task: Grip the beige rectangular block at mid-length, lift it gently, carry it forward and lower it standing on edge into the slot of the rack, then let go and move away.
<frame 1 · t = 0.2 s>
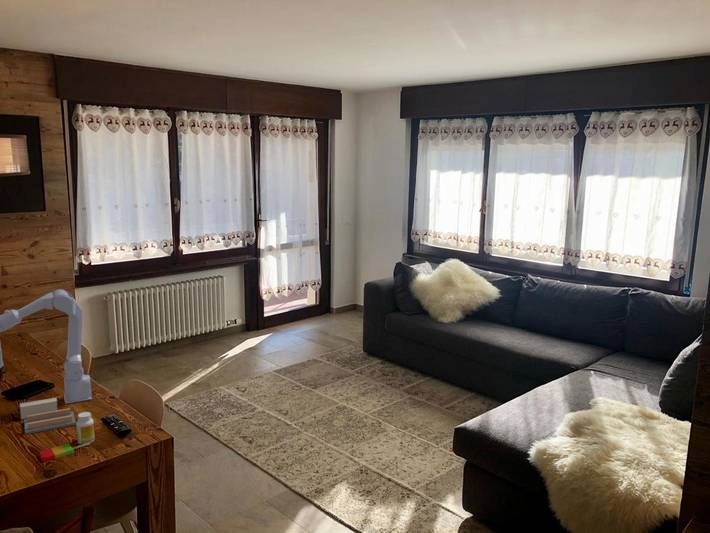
popsicle: (66, 453, 193), on the table
beige rectangular block: (39, 414, 218), on the table
rack: (50, 423, 211), on the table
supplement bottle: (86, 441, 200), on the table
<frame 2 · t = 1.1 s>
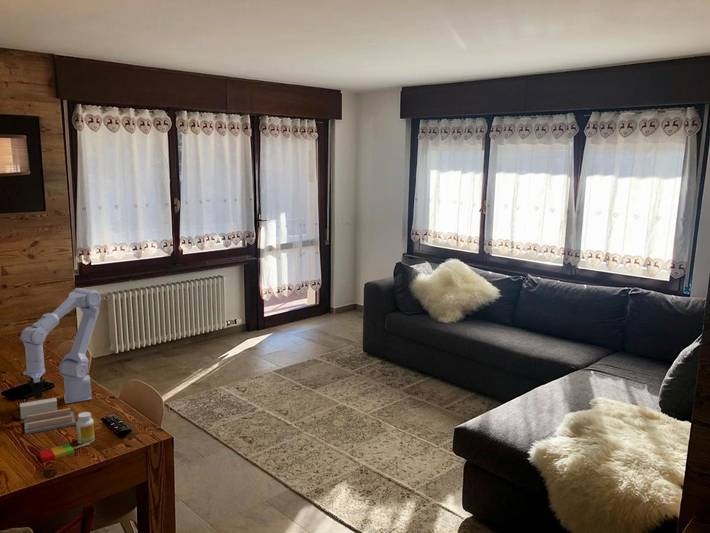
hand: (37, 394, 216), 8 cm above the table, tool pointing down, fingers open, 7 cm apart
nothing on the table moved.
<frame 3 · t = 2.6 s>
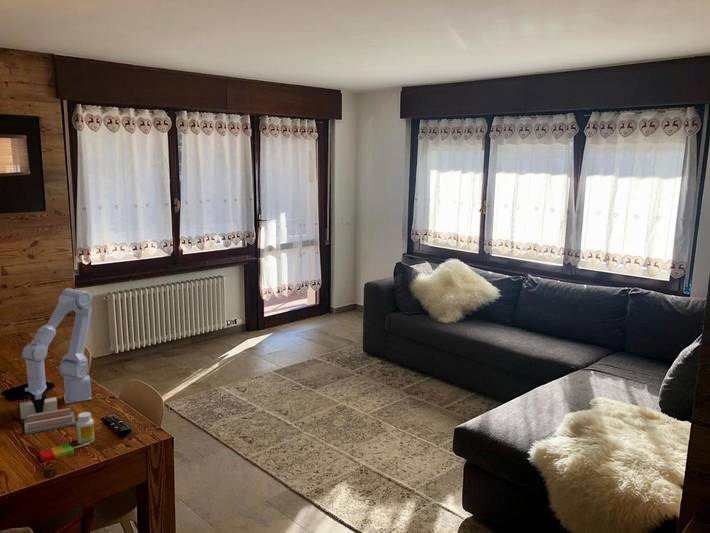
hand: (39, 410, 217), 2 cm above the table, tool pointing down, fingers closed on beige rectangular block, 3 cm apart
beige rectangular block: (39, 414, 218), on the table, touching gripper
everything else where it was.
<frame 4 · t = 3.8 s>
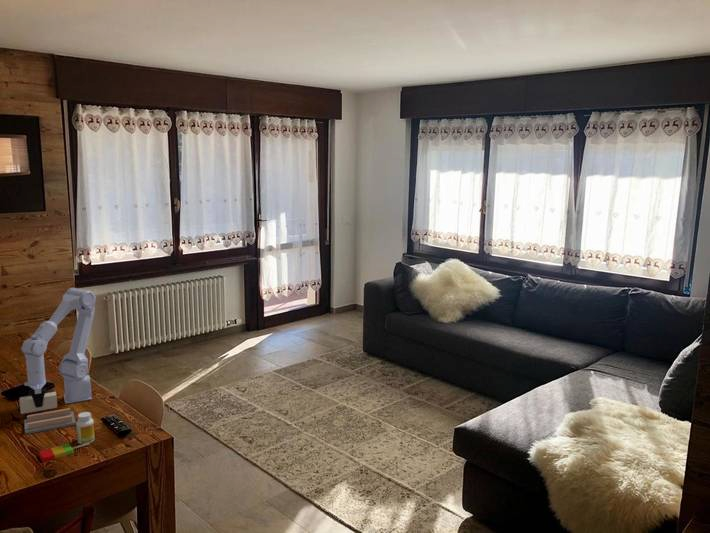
hand: (38, 404, 217), 4 cm above the table, tool pointing down, fingers closed on beige rectangular block, 3 cm apart
beige rectangular block: (39, 408, 217), point 2 cm above the table, touching gripper
everything else where it was.
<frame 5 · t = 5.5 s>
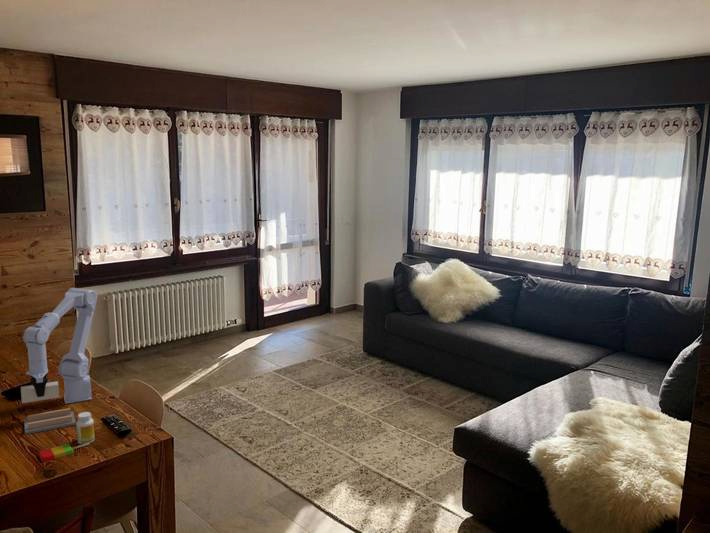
hand: (40, 394, 214), 9 cm above the table, tool pointing down, fingers closed on beige rectangular block, 3 cm apart
beige rectangular block: (40, 398, 214), point 7 cm above the table, touching gripper
everything else where it was.
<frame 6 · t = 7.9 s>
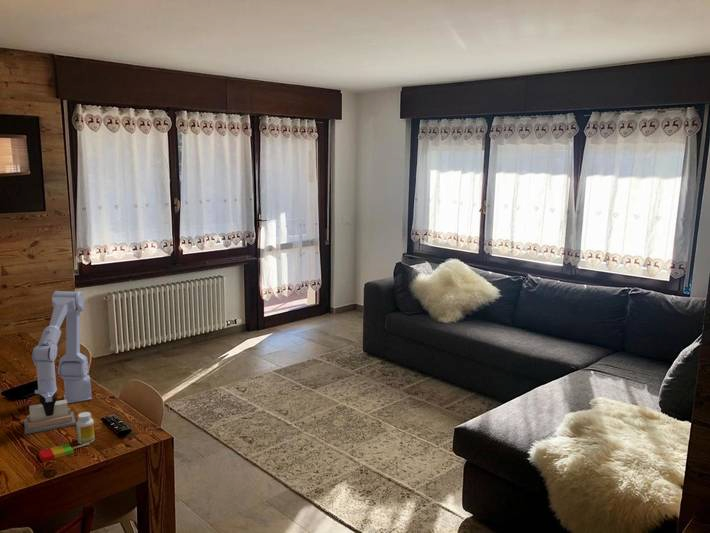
hand: (49, 413, 210), 4 cm above the table, tool pointing down, fingers closed on beige rectangular block, 3 cm apart
beige rectangular block: (49, 417, 210), point 2 cm above the table, touching gripper
everything else where it was.
when the fingers open (4 cm above the table, at t = 8.5 s): beige rectangular block drops 1 cm, resting on rack.
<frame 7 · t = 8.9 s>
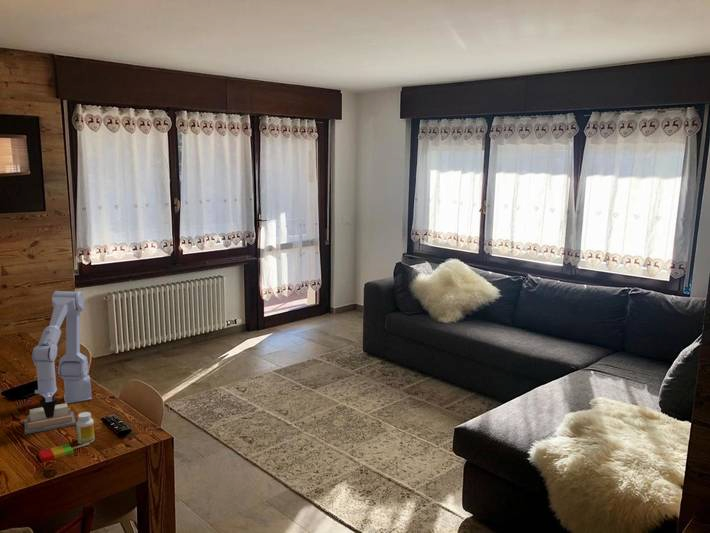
hand: (49, 413, 210), 4 cm above the table, tool pointing down, fingers open, 7 cm apart
beige rectangular block: (49, 421, 211), point 1 cm above the table, touching rack
everything else where it was.
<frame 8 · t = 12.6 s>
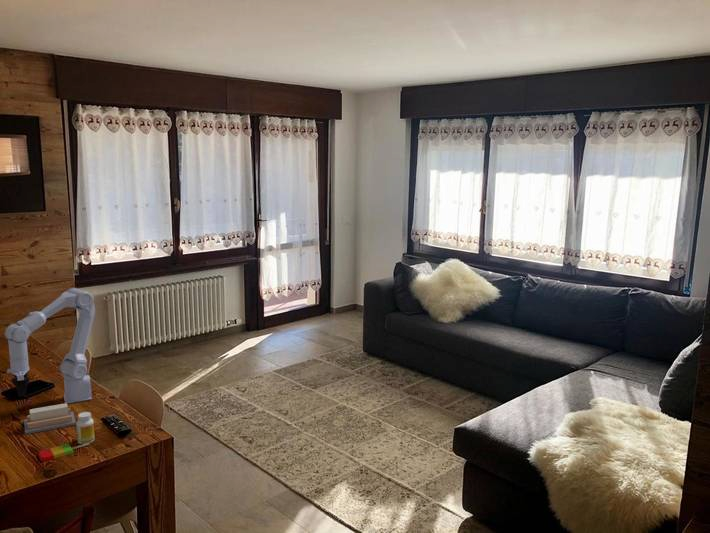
hand: (22, 392, 214), 9 cm above the table, tool pointing down, fingers open, 7 cm apart
nothing on the table moved.
at the end: beige rectangular block 0.0 cm off-centre on the rack, point 1.0 cm above the rack's base; beige rectangular block tilted 0°; the gripper is holding nothing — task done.
